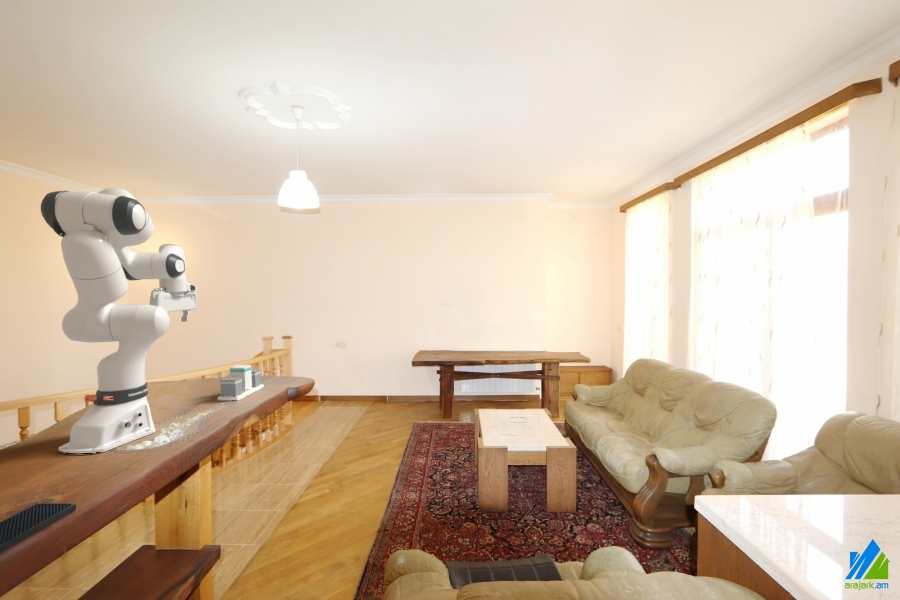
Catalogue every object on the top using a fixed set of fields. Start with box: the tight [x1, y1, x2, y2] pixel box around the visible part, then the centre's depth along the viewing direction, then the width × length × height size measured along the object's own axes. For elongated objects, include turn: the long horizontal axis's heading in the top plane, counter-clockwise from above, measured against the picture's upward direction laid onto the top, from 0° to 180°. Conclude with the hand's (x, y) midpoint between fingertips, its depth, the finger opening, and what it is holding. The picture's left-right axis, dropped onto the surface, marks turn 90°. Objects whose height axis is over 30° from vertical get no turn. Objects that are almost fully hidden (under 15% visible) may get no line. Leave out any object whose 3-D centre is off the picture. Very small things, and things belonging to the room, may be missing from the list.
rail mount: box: [217, 368, 265, 401], centre depth 161 cm, size 18×8×8 cm, turn 175°
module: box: [229, 364, 252, 390], centre depth 160 cm, size 5×6×9 cm
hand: (175, 323), depth 155 cm, fingers open, 8 cm apart
